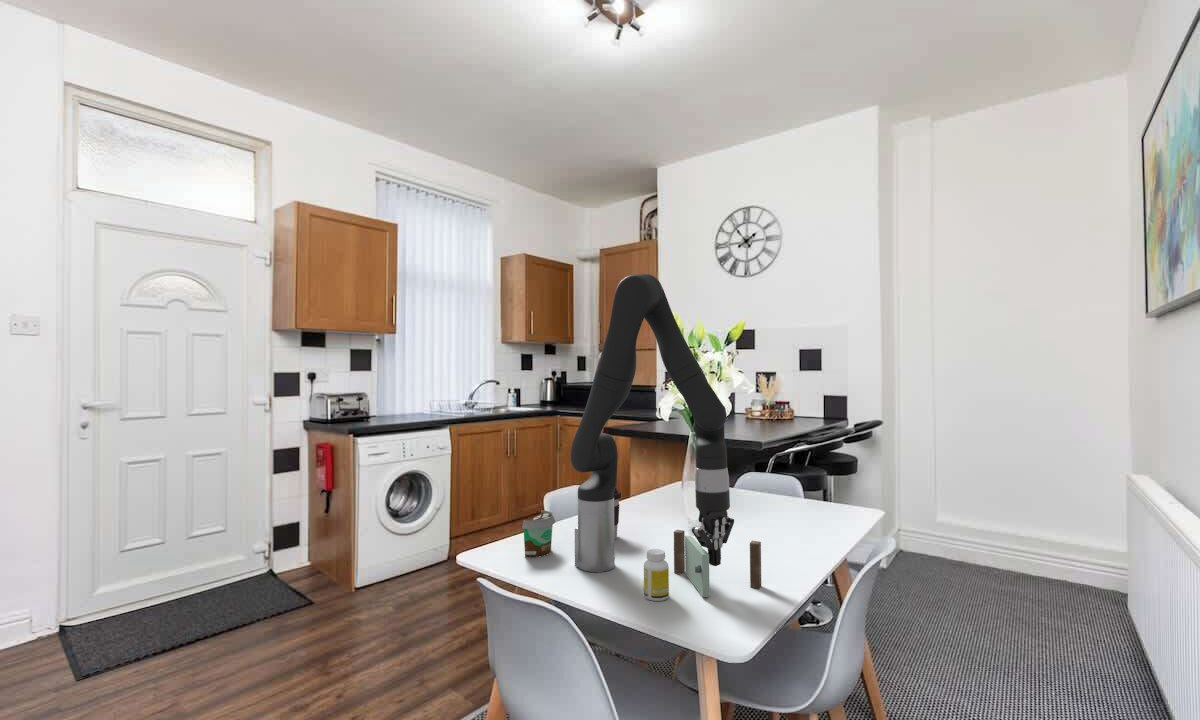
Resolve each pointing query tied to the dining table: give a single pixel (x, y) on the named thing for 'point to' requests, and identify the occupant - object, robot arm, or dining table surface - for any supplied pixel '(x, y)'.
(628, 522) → the dining table surface
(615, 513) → the coffee cup
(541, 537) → the food container
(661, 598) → the supplement bottle
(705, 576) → the door
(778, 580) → the dining table surface
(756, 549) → the door frame
